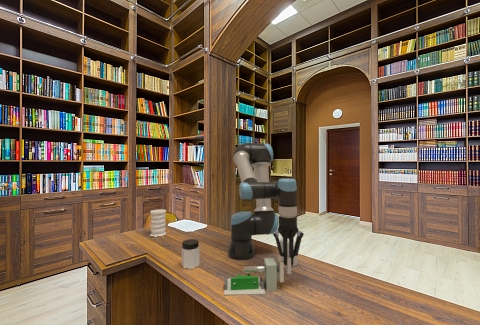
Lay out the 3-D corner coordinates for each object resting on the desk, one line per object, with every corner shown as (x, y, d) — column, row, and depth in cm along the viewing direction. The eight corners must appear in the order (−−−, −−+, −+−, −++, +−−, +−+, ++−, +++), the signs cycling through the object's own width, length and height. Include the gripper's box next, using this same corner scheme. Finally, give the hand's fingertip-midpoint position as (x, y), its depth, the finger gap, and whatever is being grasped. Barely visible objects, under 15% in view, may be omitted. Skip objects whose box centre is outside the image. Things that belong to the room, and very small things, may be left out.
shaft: (243, 275, 94) (243, 256, 94) (280, 274, 94) (280, 256, 94) (243, 283, 88) (243, 262, 88) (283, 282, 88) (283, 262, 88)
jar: (200, 262, 114) (200, 238, 114) (197, 269, 106) (197, 244, 106) (183, 262, 114) (183, 239, 114) (179, 269, 106) (179, 244, 106)
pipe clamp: (257, 284, 92) (257, 273, 92) (258, 289, 88) (258, 277, 88) (230, 285, 91) (230, 274, 91) (230, 290, 87) (230, 278, 87)
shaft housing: (264, 281, 94) (264, 258, 94) (273, 281, 94) (273, 258, 94) (266, 290, 87) (266, 265, 87) (276, 290, 87) (276, 265, 87)
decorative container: (149, 239, 150) (149, 213, 151) (149, 234, 161) (149, 209, 162) (167, 237, 155) (167, 211, 155) (166, 232, 165) (166, 208, 166)
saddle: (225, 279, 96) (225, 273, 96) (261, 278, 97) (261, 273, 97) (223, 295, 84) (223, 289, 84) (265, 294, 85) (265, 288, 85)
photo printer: (278, 259, 116) (278, 236, 117) (285, 257, 119) (284, 234, 119) (292, 267, 107) (292, 241, 108) (298, 265, 110) (298, 240, 110)
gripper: (300, 213, 95) (301, 267, 95) (270, 214, 95) (271, 268, 95) (306, 217, 88) (307, 276, 88) (274, 218, 88) (274, 277, 87)
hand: (288, 272), depth 91 cm, fingers closed
